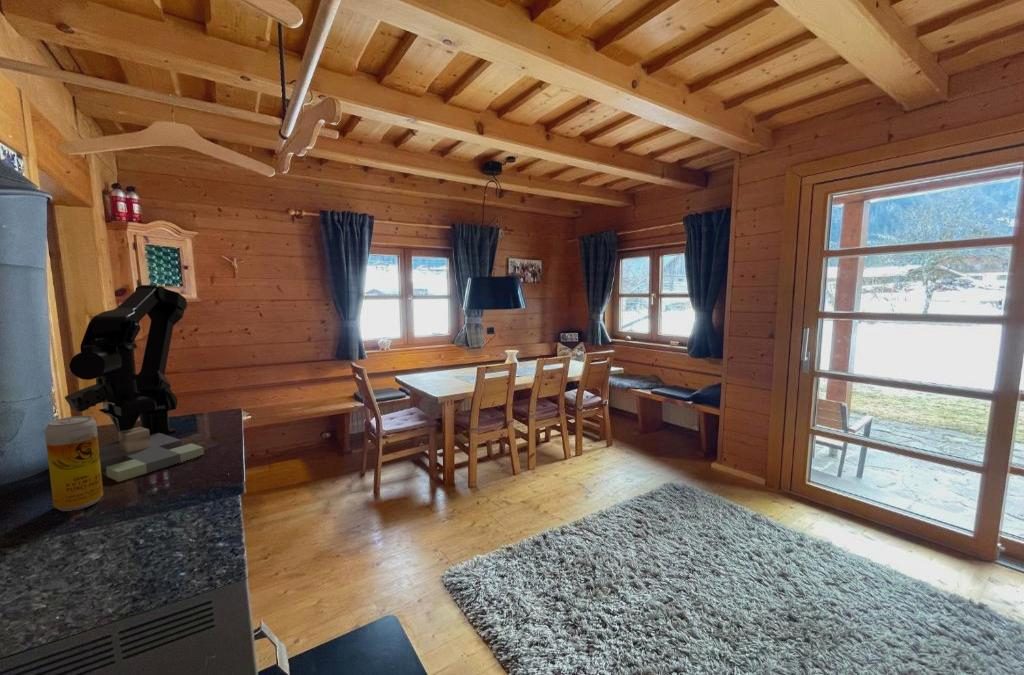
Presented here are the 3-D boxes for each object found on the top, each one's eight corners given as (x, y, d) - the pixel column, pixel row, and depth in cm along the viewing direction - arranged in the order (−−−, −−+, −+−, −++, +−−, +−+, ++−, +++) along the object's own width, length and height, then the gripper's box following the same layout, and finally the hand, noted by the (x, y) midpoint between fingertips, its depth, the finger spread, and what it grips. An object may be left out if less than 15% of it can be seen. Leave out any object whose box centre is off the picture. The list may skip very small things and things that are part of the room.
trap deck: (76, 461, 91) (75, 453, 91) (159, 440, 105) (159, 432, 104) (118, 481, 82) (117, 472, 82) (203, 455, 95) (203, 447, 95)
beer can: (71, 514, 70) (62, 426, 68) (44, 510, 71) (33, 424, 70) (112, 497, 76) (105, 416, 74) (86, 494, 77) (78, 413, 76)
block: (119, 449, 93) (118, 431, 93) (142, 443, 97) (140, 426, 96) (128, 452, 92) (126, 434, 91) (150, 446, 95) (149, 429, 95)
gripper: (51, 372, 92) (59, 442, 94) (86, 381, 83) (94, 458, 85) (117, 365, 102) (123, 428, 103) (155, 372, 93) (160, 441, 95)
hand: (124, 438), depth 96 cm, fingers closed
